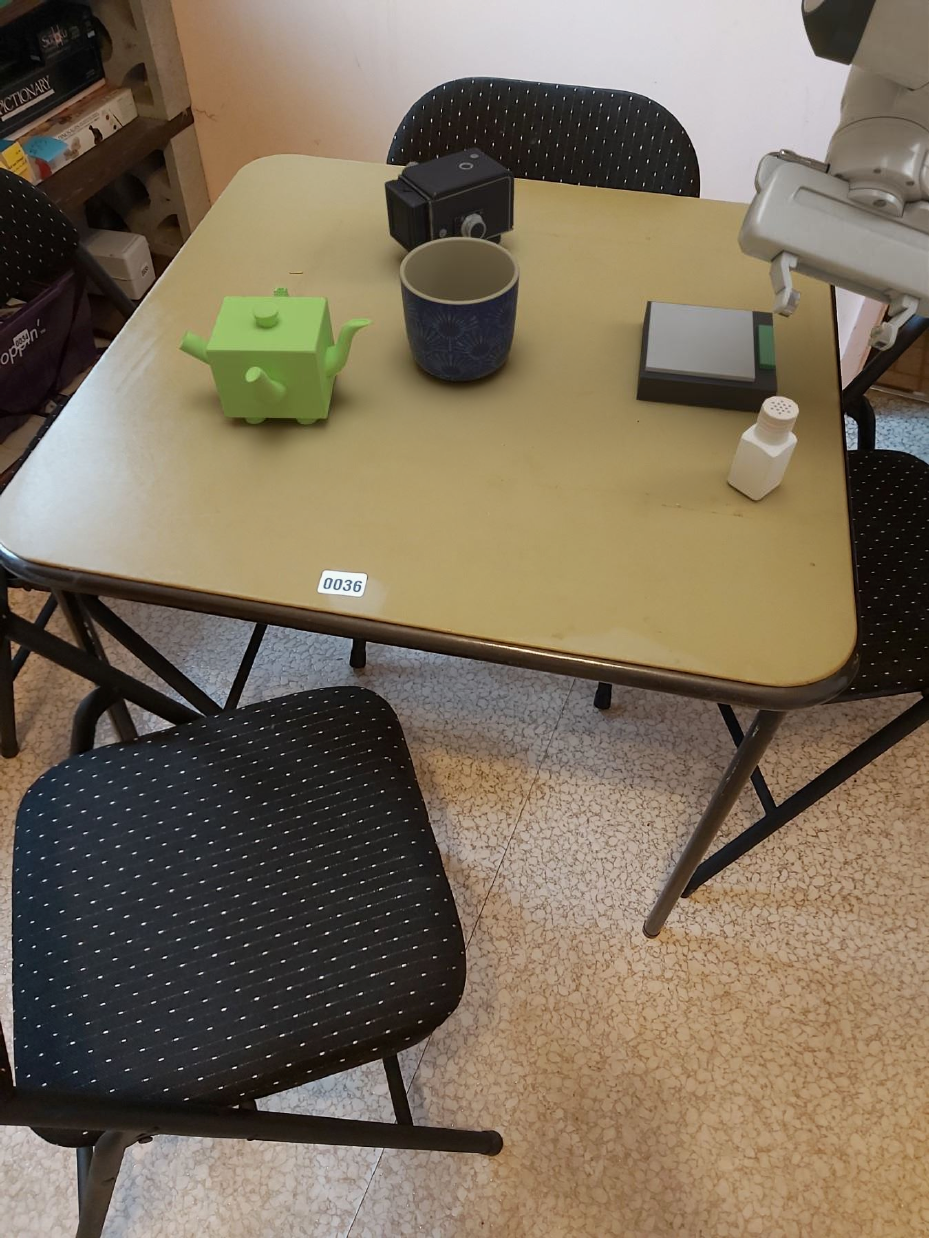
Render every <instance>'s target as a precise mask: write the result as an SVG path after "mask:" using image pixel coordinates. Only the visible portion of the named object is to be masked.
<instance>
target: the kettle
mask: <svg viewBox="0 0 929 1238" xmlns="http://www.w3.org/2000/svg"><path fill="white" fill-rule="evenodd" d="M273 292H274V294H273V296H224V298H223V300H222V304H221V307H220V309H219V312H218V315H217V317H216V320H215V324H214V327H213V329H212V332H211V335H210V338H209V340H206V339H204V338H203V337H201V336H198V335H197V334H195V333H193V332H191V331H189V330H187V331H186V332H185V334H184V336H183V338H182V340H181V341H180V344H179V347H178V350H180V351H182V352H184V353H186V354H188V355H189V356H191V357H193V358H195V359H197V360H199V361H201V362H203V363H205V364H207V365H208V366H209V368H210V370H211V373H212V376H213V380H214V383H215V387H216V390H217V393H218V397H219V400H220V403H221V406H222V410H223V413H224V416H225V418H245V421H246V422H247V423H248V424H254V425H255V424H256V425H257V424H260V423H262V422H264V421H265V420H266V419H267V418H268V419H295V420H296V421H297V423H299V424H301V425H311V424H313V423H315V422H316V421H317V420H318V419H328V416H329V415H328V414H329V410H330V405H331V401H332V400H331V399H332V394H333V390H334V385H335V378H336V376H337V375H338V374H339V373H340V372H342V370H343V369H344V367H346V364H347V362H348V358H349V355H350V351H351V347H352V346H351V345H352V343H353V342H352V341H353V338H354V336H355V335H356V333H357V332H358V331H359V330H361V329H363V328H365V327H367V326H369V325H370V324H372V320H371V319H368V318H354V319H349V320H348V321H346V322H345V323H344V324H343V325H342V326H341V328H340V331H339V333H338V337H337V342H336V343H335V339H334V333H333V327H332V321H331V314H330V307H329V301H328V297H324V296H323V297H320V296H319V297H318V296H289V291H288V287H287V286H276V288H275V289H274V291H273Z"/></svg>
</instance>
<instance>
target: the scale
mask: <svg viewBox="0 0 929 1238" xmlns="http://www.w3.org/2000/svg"><path fill="white" fill-rule="evenodd" d="M773 314H774V313H773V312H769V311H758V310H748V309H739V308H738V309H736V308H727V307H717V306H705V305H696V304H695V305H694V304H682V303H674V302H662V301H655V300H653V301H652V300H647V301H646V307H645V313H644V318H643V322H642V333H641V343H640V356H639V365H638V366H639V367H638V377H637V378H638V379H637V387H636V388H637V390H636V400H638V401H647V402H656V403H665V404H674V405H682V406H683V405H684V406H693V407H701V408H710V409H711V408H712V409H721V410H729V411H730V410H731V411H739V412H748V413H758V414H759V413H760V410H761V407H762V404H763V403H764V401H765V400H766V399H768V398H771V397H773V396H776V397H777V393H778V379H777V378H778V377H777V362H776V345H775V331H774V315H773Z"/></svg>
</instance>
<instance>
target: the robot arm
mask: <svg viewBox="0 0 929 1238" xmlns="http://www.w3.org/2000/svg"><path fill="white" fill-rule="evenodd" d="M800 11H801V12H800V13H801V18H802V22H803V28H804V31H805V34H806V37H807V39H808V43H809V45H810V47H811V50H812V51H813V54H814V56H815V57H816V58H819V59H824V60H827V61H831V62H834V63H838V64H842V65H845V66H850V69H849V72H848V74H847V77H846V81H845V84H844V88H843V91H842V95H841V99H840V104H839V114H840V115H839V118H840V119H839V123H838V126H837V127H836V129H835V130H834V132H833V134H832V136H831V138H830V140H829V143H828V147H827V150H826V155H825V158H824V162H823V161H820V160H817V159H815V158H811V157H807V156H803V155H800V154H798V153H796V152H795V151H794V150H790V149H786V148H781V149H780V150H779V151H770V152H769V153H765V155H763V156H762V157H761V159H760V160H759V161H758V166H757V169H756V173H755V176H754V182H753V183H754V189H755V192H756V193H755V194H754V196H753V198H752V200H751V202H750V204H749V206H748V209H747V211H746V213H745V216H744V217H743V220H742V224H741V226H740V228H739V232H738V236H737V243H738V245H739V249H740V251H741V253H742V254H744V255H746V256H748V257H751V258H754V259H757V260H760V261H763V262H766V263H768V264H771V265H770V269H769V273H768V276H769V278H770V282H771V285H772V289H773V293H774V295H775V298H774V301H773V304H772V309H771V313H773V314H776V315H779V316H781V317H785V318H788V319H789V318H790V316H791V315H793V314H795V313H796V311H797V309H798V306H799V303H798V302H799V301H800V299H801V295H802V292H801V291H798V290H796V289H794V287H793V280H792V276H791V272H794V273H797V274H800V275H802V276H805V277H808V278H810V279H814V280H817V281H819V282H823V283H826V284H828V285H831V286H834V287H837V288H840V289H842V290H844V291H848V292H850V293H854V294H856V295H859V296H861V297H865V298H868V299H870V300H871V299H872V300H874V301H875V302H878V303H882V304H885V305H888V306H889V307H888V311H887V315H888V316H889V317H892V318H891V319H890V320H889V321H888V322H887V321H882V322H881V323H879V324H878V325H876V326H874V327H871V332H870V339H868V343H867V346H869V347H871V348H874V349H877V350H880V351H882V352H883V351H886V350H888V349H891V348H892V347H893V345H894V344H895V342H896V339H897V336H898V332H899V328H900V327H902V326H903V325H904V324H905V323H906V322H907V321H908V320H909V319H910V318H911V317H912V316H913V315H916V316H919V317H921V318H923V319H924V318H925V319H929V0H801V4H800Z"/></svg>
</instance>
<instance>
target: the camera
mask: <svg viewBox="0 0 929 1238" xmlns="http://www.w3.org/2000/svg"><path fill="white" fill-rule="evenodd" d="M384 194H385V200H386V202H385V203H386V212H387V220H388V221H387V222H388V230H389V236H390V237H391V238H393V240H394V241H396V242H397V243H398V245H400V246H401V247H402V248H403V249H404V250H405V251H406V252H408V254H409V253H410V252H411V251H412V250H414V249H415V248H417V247H419V246H421V245H423V244H425V243H428V242H431V241H434V240H438V239H443V238H450V237H470V238H478V239H483V240H487V241H490V242H493V243H495V244H498V245H500V243H501V241H502V235H503V234H506V233H509V232H512V231H514V225H515V221H514V219H515V217H514V216H515V215H514V213H515V176H514V174H513V172H512V171H511V170H510V169H508V168H507V167H505V166H504V165H502V164H500V162H498V161H496V160H494V159H493V158H491V157H490V156H488V154H485V153H484V152H483V151H481V149H480V148H479V147H470V148H467V149H464V150H461V151H458V152H455V153H451V154H448V155H445V156H442V157H438V158H434V159H431V160H427V161H424V162H421V163H420V162H419V163H418V162H417V161H411V162H408V163H407V164H406V165H405V167H404V168H403V169H402V170H401V174H399V173H398V174H397V179H391V180H388V181H385V182H384Z"/></svg>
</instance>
